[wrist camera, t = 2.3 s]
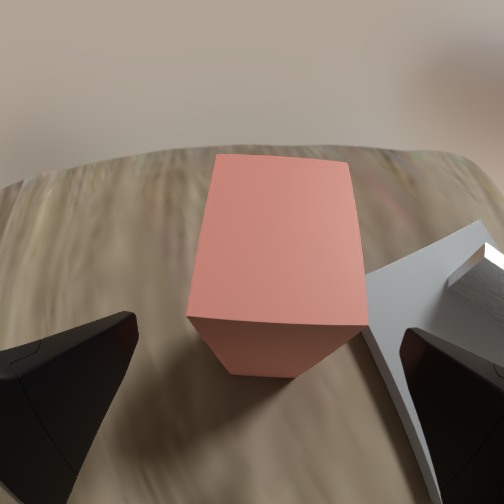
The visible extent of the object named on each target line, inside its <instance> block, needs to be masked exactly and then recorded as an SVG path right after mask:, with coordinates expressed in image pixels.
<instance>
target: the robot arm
mask: <svg viewBox="0 0 504 504" xmlns="http://www.w3.org/2000/svg"><path fill="white" fill-rule="evenodd" d="M138 339H139V333H138V326H137V319H136V315H135V314H134V313H133V312H128V311H122V312H119V313H116V314H113V315H110V316H107V317H105V318H102V319H99V320H96V321H93V322H90V323H87V324H84V325H81V326H78V327H75V328H73V329H70V330H67V331H64V332H61V333H58V334H55V335H52V336H49V337H46V338H43V339H40V340H37V341H34V342H31V343H28V344H24V345H21V346H18V347H14V348H10V349H7V350H3V351H0V504H66V503H67V500H68V498H69V496H70V493H71V491H72V488H73V486H74V484H75V481H76V479H77V477H76V476H78V474H79V471H80V469H81V467H82V464H83V462H84V460H85V458H86V455H87V453H88V451H89V449H90V447H91V444H92V442H93V440H94V438H95V436H96V434H97V431H98V429H99V427H100V425H101V423H102V421H103V419H104V417H105V415H106V413H107V411H108V408H109V406H110V404H111V402H112V400H113V398H114V396H115V394H116V392H117V390H118V388H119V386H120V384H121V382H122V380H123V378H124V376H125V374H126V371H127V369H128V366H129V363H130V361H131V358H132V355H133V353H134V350H135V347H136V345H137V342H138ZM399 355H400V359H401V363H402V367H403V371H404V375H405V379H406V383H407V386H408V390H409V393H410V396H411V399H412V402H413V404H414V407H415V410H416V413H417V416H418V419H419V422H420V425H421V428H422V431H423V434H424V437H425V440H426V444H427V447H428V450H429V454H430V457H431V461H432V464H433V468H434V471H435V475H436V479H437V483H438V487H439V491H440V496H441V500H442V504H504V367H502V366H500V365H498V364H496V363H492V362H491V361H489V360H487V359H485V358H483V357H480V356H478V355H476V354H474V353H472V352H470V351H467V350H465V349H463V348H461V347H459V346H457V345H455V344H452V343H450V342H448V341H446V340H444V339H442V338H440V337H437V336H435V335H433V334H431V333H429V332H427V331H424V330H422V329H420V328H418V327H412V328H407V329H406V330H405V333H404V336H403V339H402V342H401V345H400V349H399Z"/></svg>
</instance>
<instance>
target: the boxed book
mask: <svg viewBox="0 0 504 504" xmlns="http://www.w3.org/2000/svg"><path fill="white" fill-rule="evenodd" d="M186 316H187V318H188V319H189V320H190V322H191V323H192V325H193V326H194V327H195V329H196V330H197V331H198V333H199V334H200V335H201V337H202V338H203V339H204V341H205V342H206V343H207V345H208V346H209V347H210V349H211V350H212V351H213V353H214V354H215V355H216V357H217V358H218V359H219V360H220V362H221V363H222V364H223V366H224V367H225V368H226V369H227V371H228V372H229V373H230V374H234V375H246V376H261V377H282V378H296V377H298V376H299V375H301V374H302V373H304V372H305V371H307V370H308V369H310V368H311V367H313V366H314V365H315V364H317V363H318V362H320V361H321V360H323V359H324V358H325V357H327V356H328V355H330V354H331V353H333V352H334V351H335V350H337V349H338V348H339V347H341V346H342V345H343V344H345V343H346V342H347V341H349V340H350V339H351V338H353V337H354V336H355V335H357V334H358V333H359V332H361V331H362V330H363V329H364V328H366V327H367V326H368V325H369V324H368V308H367V295H366V283H365V273H364V264H363V255H362V247H361V239H360V232H359V225H358V218H357V212H356V205H355V200H354V194H353V188H352V183H351V177H350V172H349V167H348V163H346V162H337V161H328V160H318V159H307V158H294V157H280V156H262V155H237V154H217V157H216V161H215V166H214V170H213V175H212V179H211V184H210V188H209V193H208V198H207V203H206V207H205V212H204V217H203V222H202V227H201V233H200V238H199V243H198V248H197V254H196V259H195V265H194V271H193V277H192V282H191V288H190V294H189V301H188V307H187V313H186Z"/></svg>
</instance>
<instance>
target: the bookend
mask: <svg viewBox="0 0 504 504" xmlns="http://www.w3.org/2000/svg"><path fill="white" fill-rule="evenodd" d="M445 290H446V291H448V292H450V293H452V294H453V295H455V296H457V297H458V298H460V299H462V300H463V301H465V302H467V303H468V304H470V305H472V306H473V307H475V308H476V309H478V310H480V311H481V312H483V313H485V314H486V315H488V316H489V317H491V318H492V319H494V320H496V321H497V322H499V323H500V324H502V325H503V326H504V255H503V254H502V253H500V252H499V251H497V250H496V249H495V248H493V247H492V246H490V245H489V244H487V243H486V242H485V243H484V244H483V245H482V246H481V247H480V248H479V249H478V250H477V251H476V252H475V253H474V254H473V255H472V256H471V257H470V258H468V259H467V260H466V261H465V262H464V263H463V264H462V265H461V266H460V267H459V268H457V269H456V270H455V271H454V272H453V273H452V274H451V275H449V276H448V280H447V284H446V289H445Z"/></svg>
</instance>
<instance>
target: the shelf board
mask: <svg viewBox="0 0 504 504" xmlns="http://www.w3.org/2000/svg"><path fill="white" fill-rule="evenodd" d="M485 242H486V243H487V244H489V245H490V246H492V247H493V248H495V249H496V250H497V251H499V252H500V250H499V249H498V247H497V245H496V244H495V242H494V241H493V239H492V237H491V236H490V234H489V233H488V231H487V230H486V228H485V227H484V225H483V224H482V222H481V221H480V219H479V220H477V221H475V222H473V223H472V224H470V225H468V226H466V227H464V228H462V229H460V230H458V231H456V232H454V233H453V234H451V235H449V236H447V237H445V238H443V239H441V240H439V241H437V242H435V243H433V244H431V245H429V246H427V247H425V248H423V249H420V250H418V251H416V252H414V253H412V254H410V255H408V256H406V257H404V258H402V259H399V260H397V261H395V262H393V263H391V264H389V265H386V266H384V267H382V268H380V269H378V270H375V271H373V272H371V273H369V274H366V275H365V283H366V295H367V308H368V324H369V325H368V326H367V327H366V328H364V329H363V330H362V331H361V333H362V335H363V337H364V339H365V341H366V343H367V345H368V347H369V349H370V352H371V354H372V356H373V358H374V360H375V362H376V364H377V367H378V369H379V371H380V373H381V375H382V378H383V380H384V382H385V384H386V387H387V389H388V391H389V393H390V396H391V398H392V400H393V403H394V405H395V407H396V410H397V412H398V414H399V417H400V419H401V421H402V424H403V426H404V429H405V431H406V434H407V436H408V439H409V441H410V444H411V446H412V449H413V451H414V454H415V457H416V459H417V462H418V464H419V467H420V470H421V473H422V475H423V478H424V481H425V484H426V487H427V489H428V492H429V495H430V498H431V501H432V502H434V503H437V504H442V500H441V496H440V491H439V487H438V483H437V479H436V475H435V471H434V468H433V464H432V461H431V457H430V454H429V450H428V447H427V444H426V440H425V437H424V434H423V431H422V428H421V425H420V422H419V419H418V416H417V413H416V410H415V407H414V404H413V402H412V399H411V396H410V393H409V390H408V386H407V383H406V379H405V375H404V371H403V367H402V363H401V359H400V355H399V349H400V345H401V342H402V339H403V336H404V333H405V330H406V329H407V328H412V327H418V328H420V329H422V330H424V331H427V332H429V333H431V334H433V335H435V336H437V337H440V338H442V339H444V340H446V341H448V342H450V343H452V344H455V345H457V346H459V347H461V348H463V349H465V350H467V351H470V352H472V353H474V354H476V355H478V356H480V357H483V358H485V359H487V360H489V361H491V362H492V363H496V364H498V365H500V366H502V367H504V326H503V325H502V324H500V323H499V322H497V321H496V320H494V319H492V318H491V317H489V316H488V315H486V314H485V313H483V312H481V311H480V310H478V309H476V308H475V307H473V306H472V305H470V304H468V303H467V302H465V301H463V300H462V299H460V298H458V297H457V296H455V295H453V294H452V293H450V292H448V291H446V290H445V289H446V284H447V280H448V276H449V275H451V274H452V273H453V272H454V271H455V270H456V269H457V268H459V267H460V266H461V265H462V264H463V263H464V262H465V261H466V260H467V259H468V258H470V257H471V256H472V255H473V254H474V253H475V252H476V251H477V250H478V249H479V248H480V247H481V246H482V245H483V244H484V243H485ZM500 253H501V252H500Z"/></svg>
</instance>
